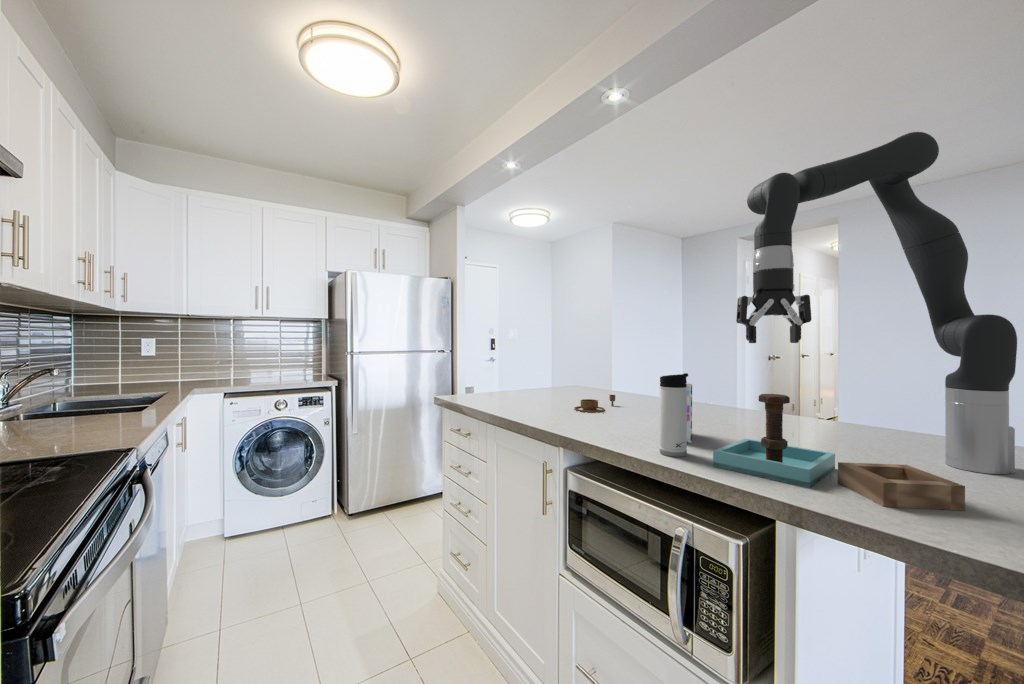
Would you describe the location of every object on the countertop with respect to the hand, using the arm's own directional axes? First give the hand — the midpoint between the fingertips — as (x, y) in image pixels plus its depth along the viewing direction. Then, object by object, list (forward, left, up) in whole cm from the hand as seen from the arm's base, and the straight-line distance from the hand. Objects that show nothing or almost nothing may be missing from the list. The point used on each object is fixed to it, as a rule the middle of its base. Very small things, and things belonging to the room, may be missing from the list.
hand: (773, 343), depth 91 cm
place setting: (+33, -72, -28) cm, 84 cm away
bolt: (0, 0, -27) cm, 27 cm away
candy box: (+14, -27, -28) cm, 41 cm away
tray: (0, 0, -27) cm, 27 cm away
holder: (-14, +14, -27) cm, 34 cm away
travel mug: (+19, -9, -28) cm, 35 cm away
